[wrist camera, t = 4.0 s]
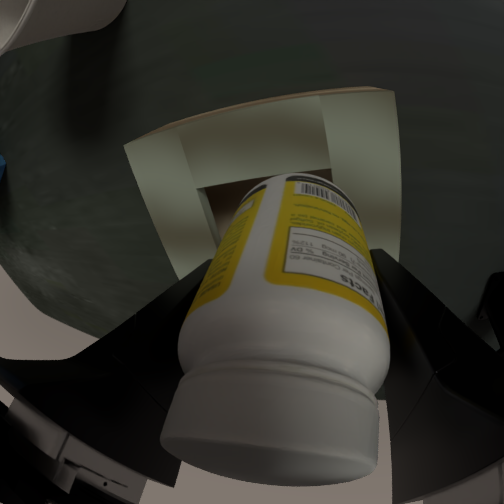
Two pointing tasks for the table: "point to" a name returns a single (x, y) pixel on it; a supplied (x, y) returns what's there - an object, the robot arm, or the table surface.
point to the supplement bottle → (284, 344)
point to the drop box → (270, 164)
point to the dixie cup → (52, 19)
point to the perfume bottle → (2, 166)
